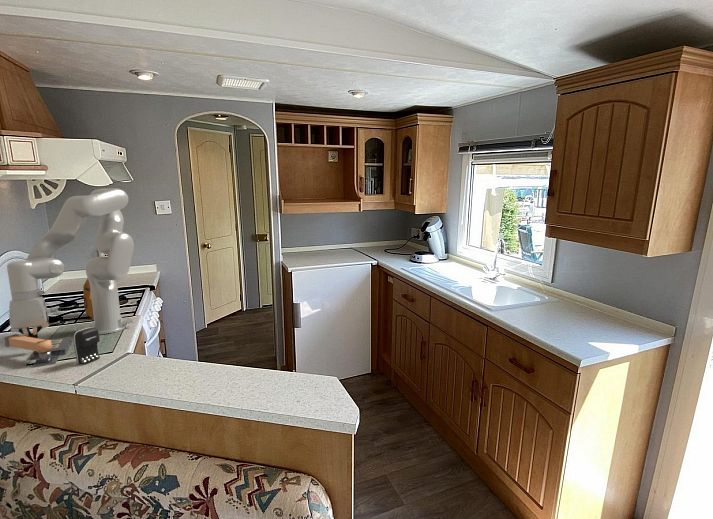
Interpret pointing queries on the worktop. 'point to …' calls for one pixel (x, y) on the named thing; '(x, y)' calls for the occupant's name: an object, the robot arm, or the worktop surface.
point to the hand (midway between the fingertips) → (33, 344)
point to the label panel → (57, 347)
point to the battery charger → (86, 345)
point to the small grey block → (45, 359)
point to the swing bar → (28, 343)
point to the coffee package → (88, 299)
